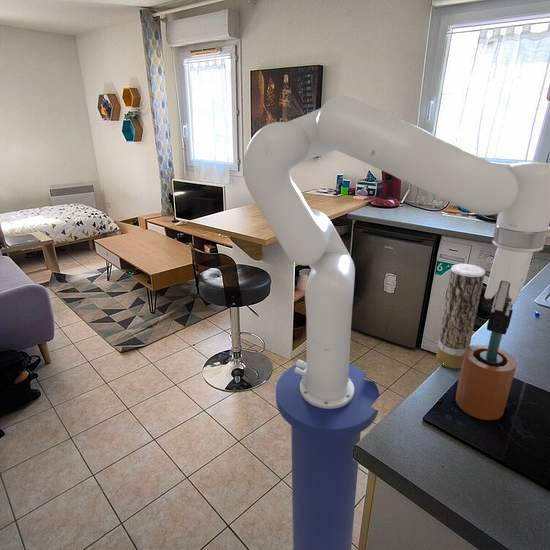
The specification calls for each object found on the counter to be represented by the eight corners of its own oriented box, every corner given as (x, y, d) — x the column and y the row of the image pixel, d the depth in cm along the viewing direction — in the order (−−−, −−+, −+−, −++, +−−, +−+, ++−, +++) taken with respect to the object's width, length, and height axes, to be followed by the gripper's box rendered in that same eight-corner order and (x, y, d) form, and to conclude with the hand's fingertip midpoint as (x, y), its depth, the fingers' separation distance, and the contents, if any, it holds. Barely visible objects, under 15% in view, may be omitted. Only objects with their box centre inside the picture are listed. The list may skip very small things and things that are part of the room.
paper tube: (465, 357, 92) (484, 265, 83) (465, 372, 87) (486, 276, 77) (436, 351, 95) (451, 262, 85) (435, 366, 89) (451, 272, 80)
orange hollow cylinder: (450, 407, 77) (459, 359, 72) (461, 384, 83) (471, 339, 78) (498, 427, 71) (512, 377, 67) (507, 401, 78) (520, 354, 73)
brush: (473, 378, 74) (489, 304, 68) (478, 368, 77) (493, 296, 70) (495, 386, 72) (514, 310, 65) (499, 376, 74) (518, 302, 68)
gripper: (502, 224, 71) (484, 308, 78) (484, 245, 60) (465, 340, 67) (549, 229, 66) (526, 318, 73) (539, 253, 55) (513, 355, 62)
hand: (497, 328), depth 70 cm, fingers closed on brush
